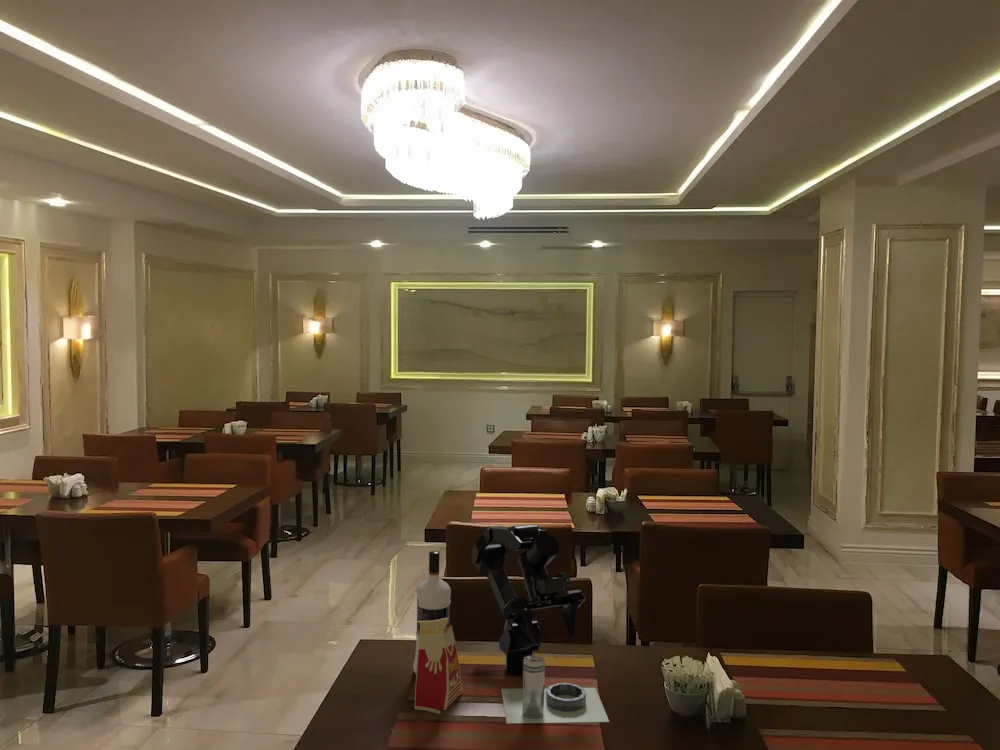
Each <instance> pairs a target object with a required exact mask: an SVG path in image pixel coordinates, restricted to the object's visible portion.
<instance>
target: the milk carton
mask: <svg viewBox="0 0 1000 750" xmlns="http://www.w3.org/2000/svg"><path fill="white" fill-rule="evenodd" d="M448 618H449V619H450V616H449V617H448ZM448 618H443V619H439V620H434V621H417V620H416V623H417V622H418V623H419V624H420V639H419V649H418V659H417V672H416V673H415V685H414V686H415V687H414V688H415V689H414V710H417V711H418V710H420V711H426V712H431V713H434V714H439V715H441V710H442V711H443V710H447V709H448V708H449V707H451V705H452V704H453V703H454V702H455V701H456V700H457V699H458V698H459V697H460V696H461V695H462V694H463V689H462V688H463V687H462V685H463V684H462V674H461V668H460V661H459V655H458V649H457V643H456V639H455V635H454V630H453V625H451V624H450V623H449V624H448Z"/></svg>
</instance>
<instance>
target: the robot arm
mask: <svg viewBox="0 0 1000 750" xmlns="http://www.w3.org/2000/svg"><path fill="white" fill-rule="evenodd" d="M490 543H493V544H490ZM507 546H508V547H507ZM508 548H510V549H511V550H512V551H523V550H524V551H523V552H522V553H519V555H518V559H517V560H516V566H520V569H521V573H522V577H523V581H524V584H523V590H526V591H527V594H528V597H529V601H528V600H527V598H526V597H525V596H524V597H518V596H517V594H516V592H515V590H514V587H513V585H512V583H511V581H510V579H509V576H508V574H507V572H506V570H505V568H504V567H505V564H506V560H507V554H508V550H509V549H508ZM559 551H560V543H559V541H558V540H557V539H556V537H554V536H553V535H551V534H549V533H548V531H547V529H540V528H539V525H537V524H536V523H535V524H524V525H512V526H509V527H508V526H503V525H494V526H493V525H492V526H491V525H490V526H488V527H485V529H484V530H483V534H482V535H481V536H480V537H479V538H478V539H477V540H476V541H475V542H474V544H473V548H472V551H471V554H470V555H471V562H472V564H473V565H474V567H475V568H476V570H477V572H478V573H479V574H481V575H482V576H484V577H485V578H487V579H488V582H489V585H490V587H491V590H492V592H493V595H494V596H495V598H496V601H497V603H498V606H499V609H500V611H501V613H502V615H503V618H504V620H505V625H504V628H503V632H502V633H503V634H502V635H501V637H500V638H498V641H499V642H498V643H499V649H500V650H501V651H502V653H504V654H505V671H506V674H511V675H515V676H523V659H524V658H525V657H527V656H531V655H535V654H534V653H533V652H539V651H540V645H541V642H542V636H543V635H542V633H543V632H542V629H541V627H540V626H539V625H538V624H539V622H538V620H536V617H535V615H534V613H533V611H536V610H541V609H542V610H543V609H548V608H549V609H550V608H555V607H560V609H561V610H563V611H562V612H561V613H560V614H561V616H562V619H563V621H564V624H565V627H566V630H567V633H568V635H569V637H570V639H572V640H574V638H575V637H576V616H577V611H578V609H579V608H580V607H581V606H582V604H583V603H585V602H586V600H587V599H586V597H585V593H584V592H583V591H582V590H581V589H575V590H567V591H566V589H565V588H569V587H571V584H572V583H571V578H570V575H569V574H568V572H560V573H557V577H555V578H553V577H554V576H553V575H552V573H551V572H549V573H548V570H547V566H548V565H549V564H550V563H551V562H552V560H553V559H554V558H555V557H556V556H557V555H558V553H559ZM563 592H565V593H563ZM560 593H563V595H562V596H559V597H556V596H558V595H560Z"/></svg>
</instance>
